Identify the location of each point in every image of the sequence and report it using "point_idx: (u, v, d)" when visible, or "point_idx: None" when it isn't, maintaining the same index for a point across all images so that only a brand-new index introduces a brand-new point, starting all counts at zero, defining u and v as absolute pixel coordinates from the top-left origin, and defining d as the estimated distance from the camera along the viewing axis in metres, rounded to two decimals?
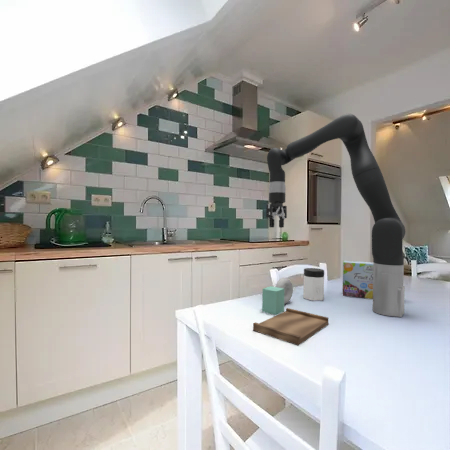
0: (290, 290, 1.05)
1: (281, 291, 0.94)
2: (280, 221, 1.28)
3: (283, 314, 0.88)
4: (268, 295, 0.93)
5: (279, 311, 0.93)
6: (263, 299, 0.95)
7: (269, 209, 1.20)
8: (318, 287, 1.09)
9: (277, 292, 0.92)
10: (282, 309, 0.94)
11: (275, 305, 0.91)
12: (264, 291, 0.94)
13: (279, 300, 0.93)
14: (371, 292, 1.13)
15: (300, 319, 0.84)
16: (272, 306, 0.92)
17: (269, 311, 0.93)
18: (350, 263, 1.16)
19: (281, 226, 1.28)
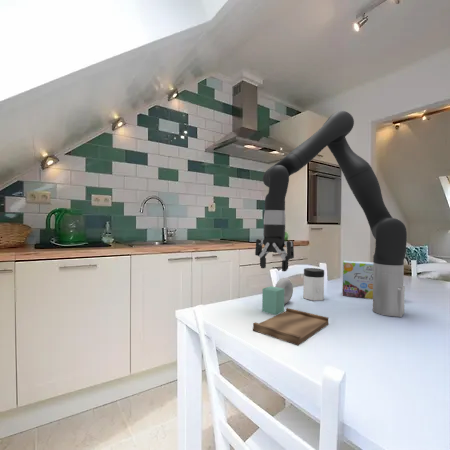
0: (290, 290, 1.05)
1: (281, 291, 0.94)
2: (263, 260, 0.98)
3: (283, 314, 0.88)
4: (268, 295, 0.93)
5: (279, 311, 0.93)
6: (263, 299, 0.95)
7: (292, 248, 0.91)
8: (318, 287, 1.09)
9: (277, 292, 0.92)
10: (282, 309, 0.94)
11: (275, 305, 0.91)
12: (264, 291, 0.94)
13: (279, 300, 0.93)
14: (371, 292, 1.13)
15: (300, 319, 0.84)
16: (272, 306, 0.92)
17: (269, 311, 0.93)
18: (350, 263, 1.16)
19: (264, 266, 0.98)
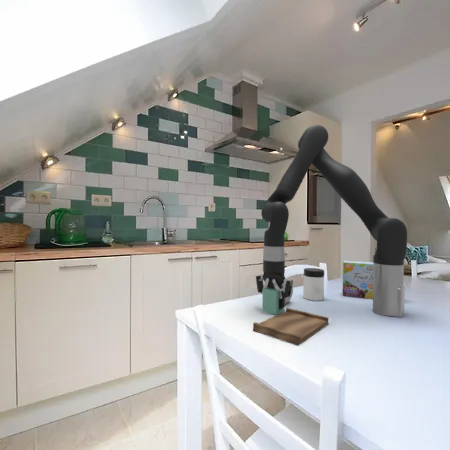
0: None
1: (281, 291, 0.94)
2: None
3: (283, 314, 0.88)
4: (269, 295, 0.93)
5: (279, 311, 0.93)
6: (263, 299, 0.95)
7: (290, 287, 0.91)
8: (317, 287, 1.09)
9: (277, 292, 0.92)
10: (282, 309, 0.94)
11: (275, 305, 0.91)
12: (264, 291, 0.94)
13: None
14: (371, 292, 1.13)
15: (300, 319, 0.84)
16: (272, 306, 0.92)
17: (269, 311, 0.93)
18: (350, 263, 1.16)
19: None
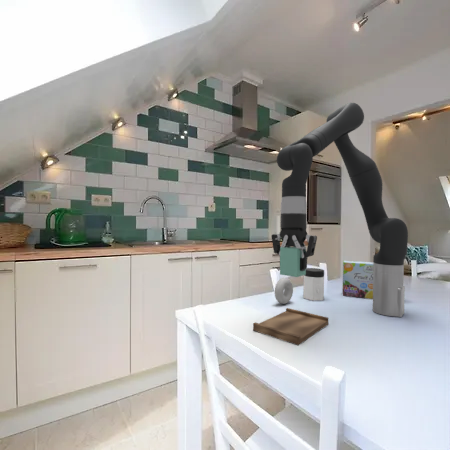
0: (290, 290, 1.05)
1: None
2: None
3: (283, 314, 0.88)
4: (288, 254, 0.79)
5: (300, 273, 0.78)
6: (281, 259, 0.80)
7: (314, 244, 0.77)
8: (318, 287, 1.09)
9: (298, 250, 0.77)
10: (303, 271, 0.80)
11: (296, 265, 0.77)
12: (282, 250, 0.80)
13: None
14: (371, 292, 1.13)
15: (300, 319, 0.84)
16: (292, 267, 0.78)
17: (288, 273, 0.78)
18: (350, 263, 1.16)
19: None
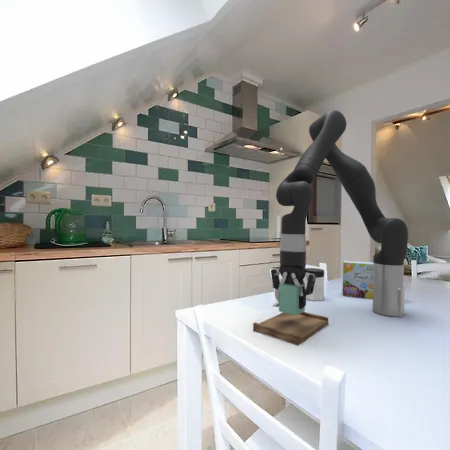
0: None
1: None
2: None
3: (283, 314, 0.88)
4: (287, 292, 0.79)
5: (299, 311, 0.78)
6: (280, 296, 0.80)
7: (313, 283, 0.77)
8: (317, 287, 1.09)
9: (297, 288, 0.77)
10: None
11: (295, 304, 0.77)
12: (281, 287, 0.80)
13: None
14: (371, 292, 1.13)
15: (300, 319, 0.84)
16: (291, 305, 0.78)
17: (287, 311, 0.78)
18: (350, 263, 1.16)
19: None
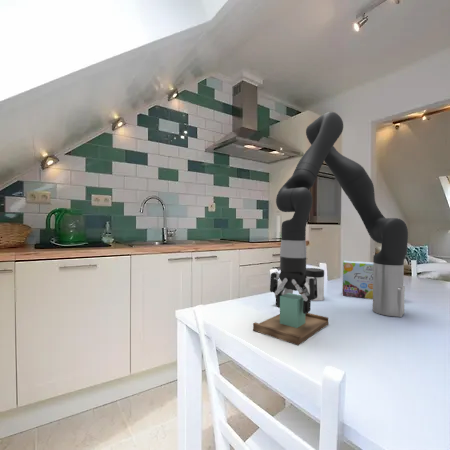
0: (290, 290, 1.05)
1: (302, 299, 0.79)
2: None
3: None
4: (288, 304, 0.78)
5: (300, 323, 0.78)
6: (281, 308, 0.80)
7: (315, 286, 0.76)
8: (318, 287, 1.09)
9: (298, 301, 0.77)
10: (303, 320, 0.80)
11: (296, 316, 0.77)
12: (282, 299, 0.80)
13: (300, 310, 0.78)
14: (371, 292, 1.13)
15: None
16: (292, 318, 0.77)
17: (288, 323, 0.78)
18: (350, 263, 1.16)
19: None
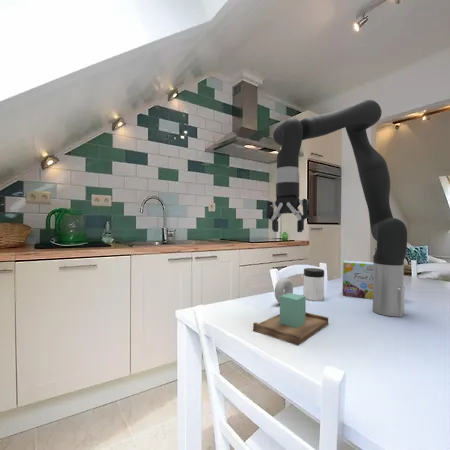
0: (290, 290, 1.05)
1: (302, 299, 0.79)
2: (276, 223, 0.91)
3: None
4: (288, 304, 0.78)
5: (300, 323, 0.78)
6: (281, 308, 0.80)
7: (308, 206, 0.85)
8: (318, 287, 1.09)
9: (298, 301, 0.77)
10: (303, 320, 0.80)
11: (296, 316, 0.77)
12: (282, 299, 0.80)
13: (300, 310, 0.78)
14: (371, 292, 1.13)
15: None
16: (292, 318, 0.77)
17: (288, 323, 0.78)
18: (350, 263, 1.16)
19: (277, 230, 0.91)
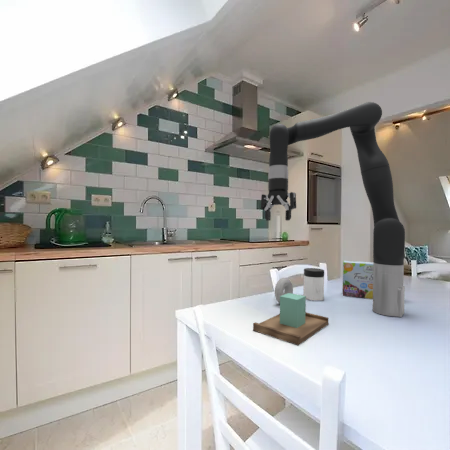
0: (290, 290, 1.05)
1: (302, 299, 0.79)
2: (268, 213, 1.07)
3: None
4: (288, 304, 0.78)
5: (300, 323, 0.78)
6: (281, 308, 0.80)
7: (294, 199, 1.00)
8: (318, 287, 1.09)
9: (298, 301, 0.77)
10: (303, 320, 0.80)
11: (296, 316, 0.77)
12: (282, 299, 0.80)
13: (300, 310, 0.78)
14: (371, 292, 1.13)
15: None
16: (292, 318, 0.77)
17: (288, 323, 0.78)
18: (350, 263, 1.16)
19: (269, 219, 1.07)
